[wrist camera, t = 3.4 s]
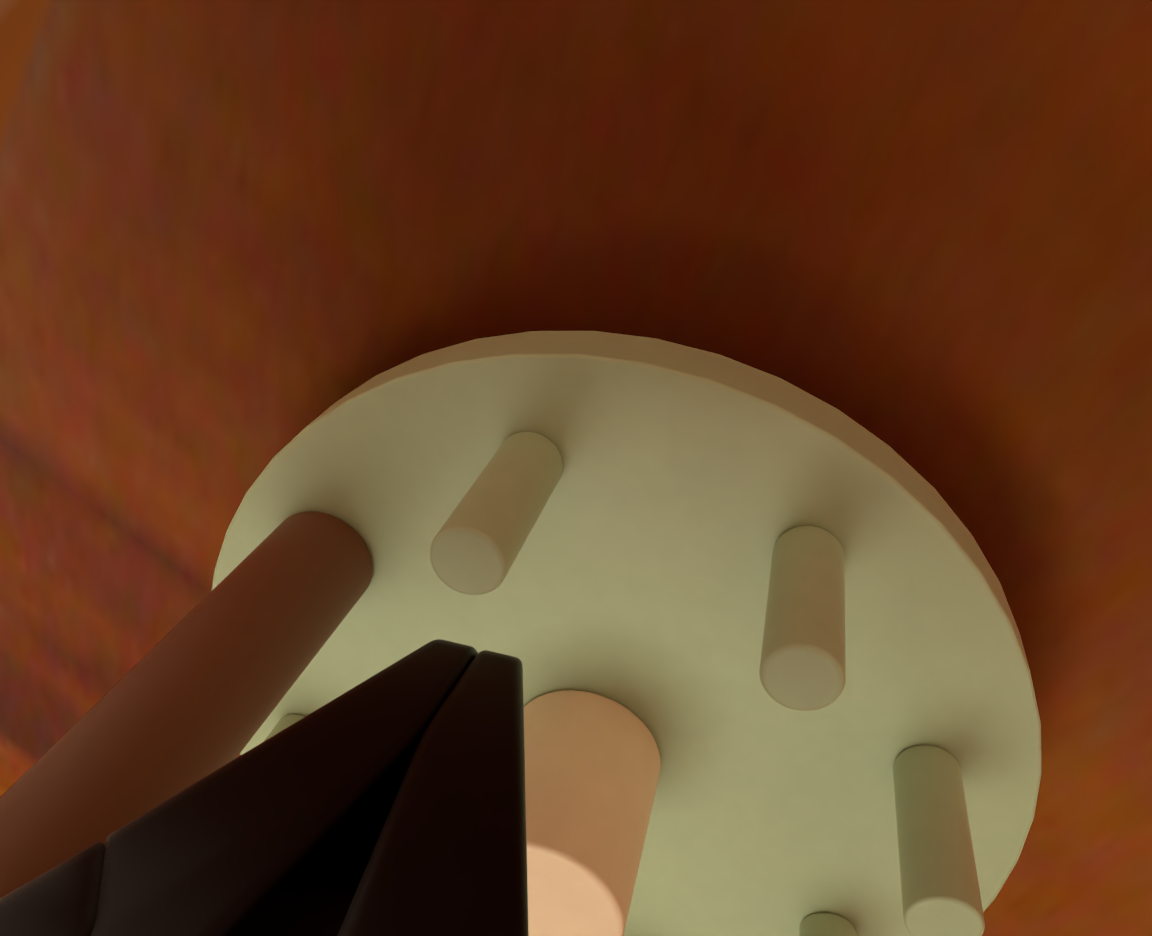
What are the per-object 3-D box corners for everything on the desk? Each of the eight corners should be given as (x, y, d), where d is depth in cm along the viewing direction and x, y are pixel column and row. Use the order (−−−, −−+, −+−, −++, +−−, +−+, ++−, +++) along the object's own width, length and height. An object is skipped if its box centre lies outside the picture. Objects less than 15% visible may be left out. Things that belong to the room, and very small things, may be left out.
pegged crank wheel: (1243, 734, 13) (1707, 1596, 6) (660, 1061, 20) (562, 1665, 13) (498, 122, 12) (8, 326, 5) (135, 687, 18) (-301, 1127, 11)
